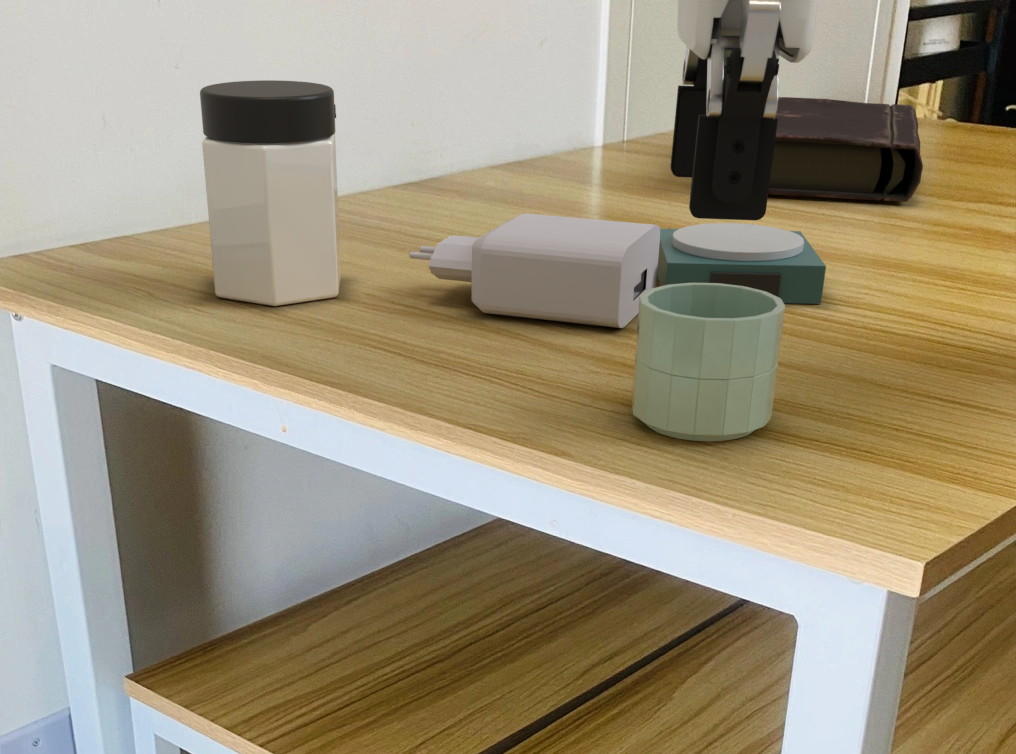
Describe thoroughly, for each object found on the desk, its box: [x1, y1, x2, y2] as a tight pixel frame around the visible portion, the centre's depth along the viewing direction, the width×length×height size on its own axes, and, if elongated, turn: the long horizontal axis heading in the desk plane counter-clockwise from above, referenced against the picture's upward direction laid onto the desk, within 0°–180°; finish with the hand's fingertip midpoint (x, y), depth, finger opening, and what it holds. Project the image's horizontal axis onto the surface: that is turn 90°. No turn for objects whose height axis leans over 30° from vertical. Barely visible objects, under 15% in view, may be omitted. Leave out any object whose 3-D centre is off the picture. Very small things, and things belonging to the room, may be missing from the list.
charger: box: [408, 213, 661, 329], centre depth 86 cm, size 5×9×15 cm
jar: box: [199, 79, 342, 307], centre depth 86 cm, size 9×8×12 cm
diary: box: [768, 96, 924, 203], centre depth 125 cm, size 19×25×5 cm
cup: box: [631, 283, 786, 442], centre depth 67 cm, size 7×7×6 cm
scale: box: [657, 222, 827, 305], centre depth 91 cm, size 10×10×3 cm
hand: (713, 195), depth 63 cm, fingers open, 9 cm apart
